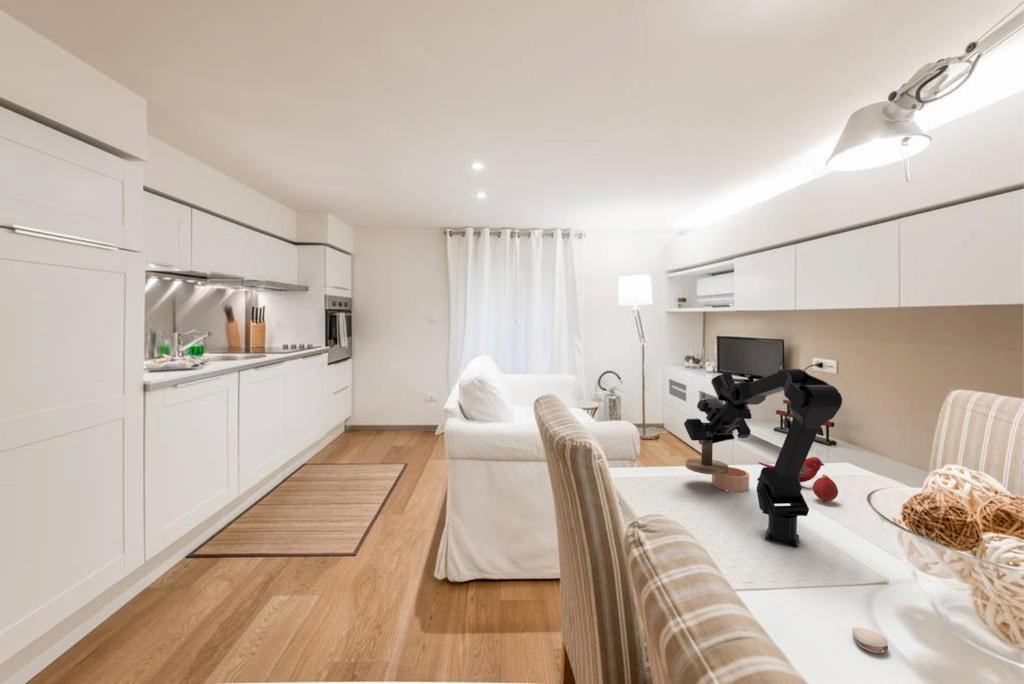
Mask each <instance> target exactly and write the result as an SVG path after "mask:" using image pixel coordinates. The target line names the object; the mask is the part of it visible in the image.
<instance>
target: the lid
mask: <svg viewBox="0 0 1024 684" xmlns="http://www.w3.org/2000/svg"><path fill="white" fill-rule="evenodd" d="M711 437H712V441H709V442H707V443H704V444H701V458H700V457H699V458H698V457H696V458H690V459H687V460H685V468H686V469H687V470H689V471H691V472H695V473H698V474H703V475H711V476H712V475H721V474H726V473H728V471H729V467H730V466H729V465H728V464H727V463H725V462H722V461H719V460H717V459H716V460H715V459H713V444H714V443H713V435H712V436H711Z"/></svg>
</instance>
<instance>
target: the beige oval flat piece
mask: <svg viewBox="0 0 1024 684" xmlns="http://www.w3.org/2000/svg"><path fill="white" fill-rule="evenodd" d="M851 630H852V635H853V637H854V640H855V641H856V642H857V644H858V645H859V647H861V648H863V649H864V650H866V651H868V652H869V653H872V652H873V653H872V654H879V653H881V654H883V653H886V652H887V651H889V646H888V645H889V641H888V639H887V638H886V637H885V636H884V635H882V634H880V633H878V632H877V631H874V630H872V629H869V628H864V627H858V626H857V627H854V626H852V628H851ZM883 650H884V652H882V651H883Z"/></svg>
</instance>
